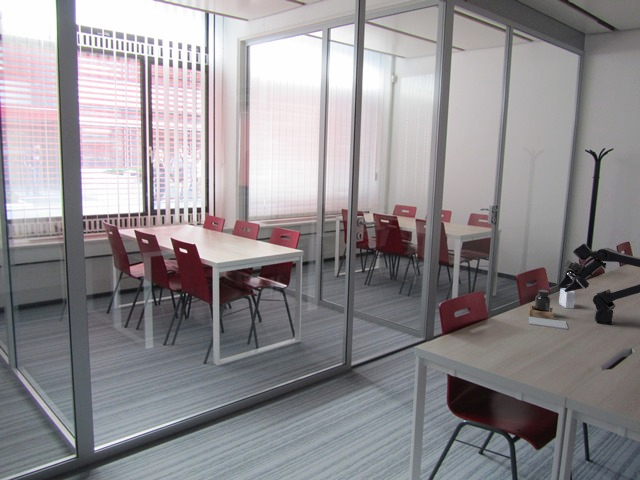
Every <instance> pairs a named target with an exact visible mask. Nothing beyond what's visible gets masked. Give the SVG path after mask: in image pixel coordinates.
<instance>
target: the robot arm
mask: <svg viewBox="0 0 640 480" xmlns="http://www.w3.org/2000/svg"><path fill="white" fill-rule="evenodd" d="M572 253H573V255H574V256H576V257H577V258H578V259H579V260H580V261H581V262H583V261H584V263H583V264H582V263H578V262H576V261H575V262H572V261H570V260H567V261H566V263H565V265H564V267H566V268H565V269H564V272H563V274H564V275H563V278H562V280H560V282H559V284H558V288H560V289H561V288H563V287H565V288H566V289H565V290H564V291H565V292H570V291H574V292H575V291H577V290H584V289H587V288H588V287H589V285H590V283H589V282H588V281H587V278H589V277H592V276H594V275H593V274H594V273H595V272H596V271H597V270H599V269H600V268H602V269H603V270H606V269H607V262H608V263H611V262H613V263H620V264H625V265H628V266H634V267H636V268H637V267H638V268H640V257H638V256H633V255H629V254H625V253H621V252H619V251H617V250H615V249H613V248H610V247H604V248H599V249H598V250H594V251H593V250H592V249H591V248H589V246H588V245H587V244H586V243H582V244H581V245H579V246H578V247H576V248H575V249H574V250H573V251H572ZM566 286H567V287H566ZM637 294H640V283H639V284H638V283H637V284H635V285H631V286H629V287H625V288H622V289H619V290H618V289H617V290H616V291H611V289H610V288H609V289H607V290H603V291H599V292H597V293H596V295H594V296H593V299H592V302H593V304H594V305H595V309H596V310H595V313H594V321H595V322H596V323H597V324H602V325H611V326H613V317H614V316H613V315H614V309H615V307H616V304H615V303H614V302H615V301H617V300H619V299H623V298H627V297H630V296H633V295H637Z"/></svg>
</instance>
